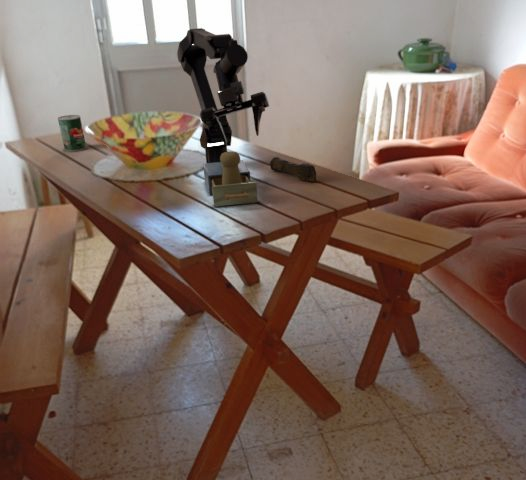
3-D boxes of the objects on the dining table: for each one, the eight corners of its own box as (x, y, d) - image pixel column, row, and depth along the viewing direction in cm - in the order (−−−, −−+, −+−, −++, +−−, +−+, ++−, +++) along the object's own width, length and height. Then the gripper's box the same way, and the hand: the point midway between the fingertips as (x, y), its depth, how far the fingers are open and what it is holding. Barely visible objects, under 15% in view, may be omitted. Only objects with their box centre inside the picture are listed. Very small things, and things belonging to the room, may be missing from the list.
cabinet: (251, 191, 156) (250, 171, 153) (209, 195, 154) (207, 175, 151) (243, 179, 166) (242, 160, 163) (204, 182, 165) (203, 163, 162)
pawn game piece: (229, 199, 147) (226, 156, 141) (217, 194, 152) (213, 152, 146) (248, 194, 150) (245, 152, 144) (235, 189, 154) (232, 148, 148)
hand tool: (269, 171, 172) (268, 155, 170) (279, 168, 174) (279, 153, 171) (308, 185, 159) (308, 168, 157) (319, 182, 161) (319, 166, 158)
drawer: (260, 206, 145) (259, 186, 142) (215, 211, 143) (213, 190, 140) (249, 188, 158) (248, 169, 155) (208, 192, 156) (206, 173, 153)
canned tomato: (83, 151, 203) (76, 118, 197) (61, 151, 203) (54, 119, 197) (89, 145, 210) (82, 114, 204) (68, 146, 210) (61, 115, 204)
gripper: (188, 83, 148) (202, 143, 150) (255, 62, 144) (269, 123, 146) (199, 95, 159) (212, 151, 160) (262, 76, 155) (275, 133, 157)
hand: (241, 140), depth 156 cm, fingers open, 9 cm apart
